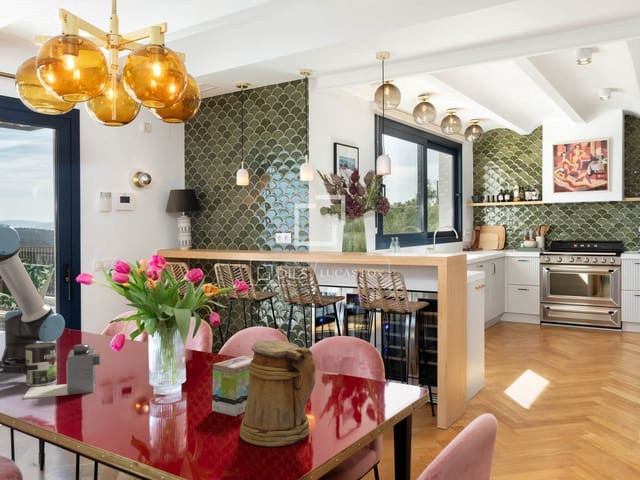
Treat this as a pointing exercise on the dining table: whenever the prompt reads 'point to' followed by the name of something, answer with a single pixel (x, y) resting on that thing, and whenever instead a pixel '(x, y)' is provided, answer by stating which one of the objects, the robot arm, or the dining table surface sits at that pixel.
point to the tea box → (231, 385)
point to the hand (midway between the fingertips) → (51, 361)
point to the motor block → (81, 369)
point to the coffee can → (39, 355)
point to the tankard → (278, 394)
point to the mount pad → (46, 391)
